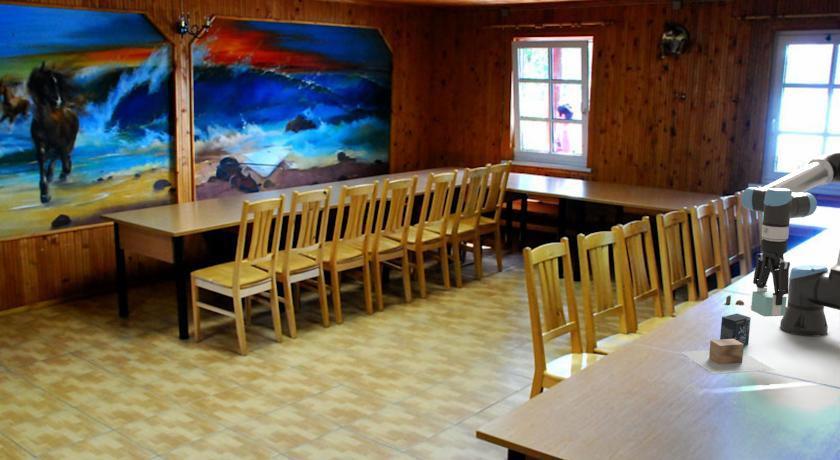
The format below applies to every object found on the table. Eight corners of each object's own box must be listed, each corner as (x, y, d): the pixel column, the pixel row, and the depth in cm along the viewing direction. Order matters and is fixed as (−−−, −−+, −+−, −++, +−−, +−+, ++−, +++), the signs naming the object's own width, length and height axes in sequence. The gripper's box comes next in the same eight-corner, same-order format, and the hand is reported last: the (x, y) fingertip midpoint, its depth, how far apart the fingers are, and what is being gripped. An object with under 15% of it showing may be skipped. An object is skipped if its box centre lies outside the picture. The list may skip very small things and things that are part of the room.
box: (733, 351, 264) (735, 320, 262) (718, 347, 269) (721, 316, 267) (748, 347, 268) (751, 316, 266) (734, 343, 273) (736, 312, 271)
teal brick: (771, 309, 256) (773, 290, 255) (784, 315, 249) (786, 296, 248) (750, 310, 255) (752, 291, 253) (764, 316, 248) (765, 297, 247)
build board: (736, 351, 264) (737, 348, 264) (773, 373, 245) (773, 369, 245) (680, 355, 261) (680, 352, 260) (712, 377, 241) (712, 374, 241)
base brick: (732, 356, 256) (733, 338, 255) (742, 362, 251) (743, 344, 249) (709, 358, 254) (710, 340, 253) (718, 364, 249) (719, 345, 248)
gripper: (744, 233, 257) (739, 303, 261) (783, 245, 237) (776, 321, 241) (766, 232, 258) (760, 302, 262) (806, 245, 239) (799, 319, 243)
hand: (768, 311), depth 252 cm, fingers closed on teal brick, 7 cm apart
